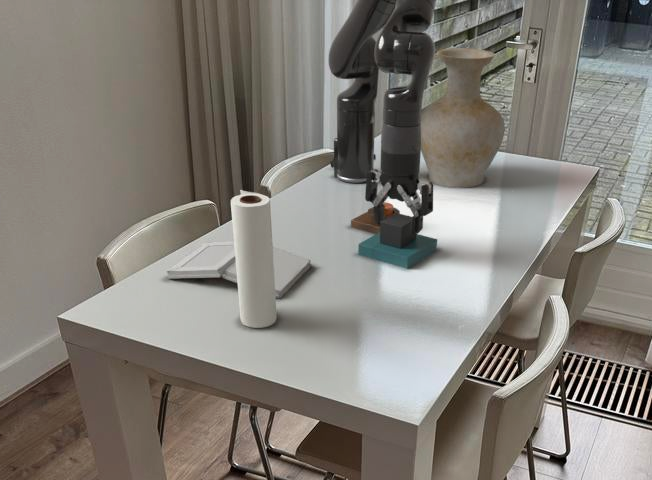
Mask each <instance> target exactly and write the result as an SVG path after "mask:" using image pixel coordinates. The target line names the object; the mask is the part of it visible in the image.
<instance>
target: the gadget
mask: <svg viewBox="0 0 652 480" xmlns="http://www.w3.org/2000/svg"><path fill="white" fill-rule="evenodd" d="M273 261H274V279H275V297H276V299H281V298H282V297H283V296H284V295H285V294H286V293H287V292H288V290H290V289H291V288H292V287H293V286H294V285H295V284H296V282H297V281H298V280H299V279H300V278H302V277H303V275H305V273H306V272H307V271H309V269H310V268H311V267H312V264H311V259H309V258H306V257H304V256H300V255H297V254H296V253H295V254H294V253H292V252H290V251H286V250H283V249H281V248H279V247H276V246H273ZM166 273H167V275H166V279H168V280H169V279H205V278H207V279H208V278H221V277H222V279H224V280H227V281H230V282H233V283H235V284H238V283H237V271H236V259H235V247H234V241H214V242H204V243H202V244H201V245H200V246H199V247H197V248H196V249H195V250H194V251H192V252H191V253H189V254H188V255H187V256H185V257H184V258H182V259H181V260H179V262H177V263H176V264H174V265H173V266H171V267H170V268H169V269H167V271H166Z"/></svg>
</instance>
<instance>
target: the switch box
mask: <svg viewBox="0 0 652 480" xmlns="http://www.w3.org/2000/svg"><path fill="white" fill-rule="evenodd" d="M395 213H399V214H401V211H400V209H398V208H397V207H394V206H393V214H395ZM393 214H392V215H393ZM390 216H391V215H384V219H386V218H388V217H390ZM350 228H352V229H356V230H360V231H363V232H367V233H371V234H373V235H376V234H377V233H379V232H380V225H378V224H376V221H374V206H372V207H370V208H368V210H367V211H366V212H364V213H362V214H360V215H358V216H356V217H354V218H353V219H350Z"/></svg>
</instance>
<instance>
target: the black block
mask: <svg viewBox="0 0 652 480" xmlns="http://www.w3.org/2000/svg"><path fill="white" fill-rule="evenodd" d="M412 217H413V216H410V215H406V214H402V213H400V214H399V213H395V214H393V215H391V216H390V217H388V218H386V219H384V220H382V221H380V243H383V244H386V245H390V246H394V247H397V248H403V247H404V246H406V245H408V244H409V243H411V242H412V241H414V240H416V235H415V234H412Z"/></svg>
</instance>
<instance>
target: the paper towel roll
mask: <svg viewBox="0 0 652 480" xmlns="http://www.w3.org/2000/svg"><path fill="white" fill-rule="evenodd" d="M239 191H240V194H237V195H235V196H233V197H232V198H231V199H230V208H231V209H230V210H231V211H230V212H231V222H232V235H233V242H234V247H235V259H236V271H237V283H236V284H237V293H238V305H239V315H240V321H241V323H242V325H244V326H246V327H249V328H252V329H261V328H262V329H263V328H267V327H270V326H272V325H274V324H275V323H276V321H277V318H278V317H277V301H276V299H277V298H276V297H275V279H274V261H273V247H274V246H273V245H274V244H273V243H274V242H273V229H272V209H271V199H270V198H269V196H267V195H264V194H262V193H258V192H253V191H246V190H243V189H240V190H239Z"/></svg>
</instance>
